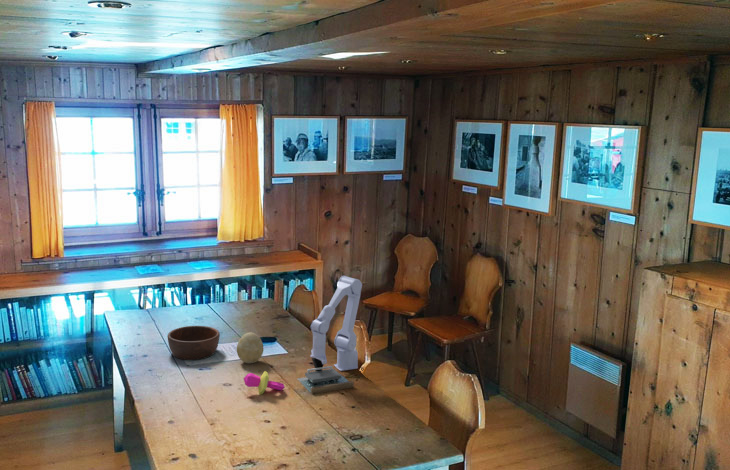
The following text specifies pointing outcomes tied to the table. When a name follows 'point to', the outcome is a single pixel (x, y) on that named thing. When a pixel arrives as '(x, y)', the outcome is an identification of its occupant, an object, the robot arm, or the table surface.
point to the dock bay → (326, 385)
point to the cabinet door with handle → (322, 374)
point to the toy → (262, 382)
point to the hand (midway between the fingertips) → (318, 373)
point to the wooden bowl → (193, 342)
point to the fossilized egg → (250, 348)
